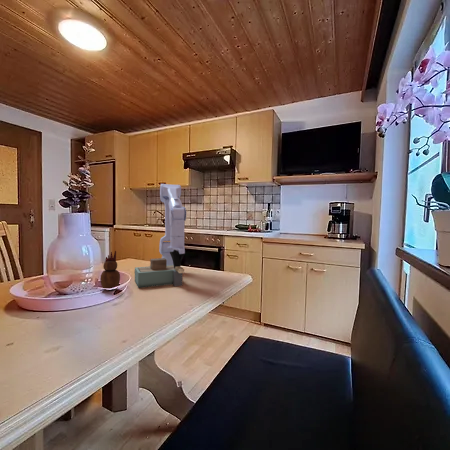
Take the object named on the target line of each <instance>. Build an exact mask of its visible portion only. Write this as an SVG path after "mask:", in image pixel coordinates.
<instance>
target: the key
mask: <svg viewBox="0 0 450 450" xmlns="http://www.w3.org/2000/svg"><path fill="white" fill-rule="evenodd" d="M175 270H176V271H177V272H178V273H182V274H185V268H184V267H182V266H176V267H175Z"/></svg>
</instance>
